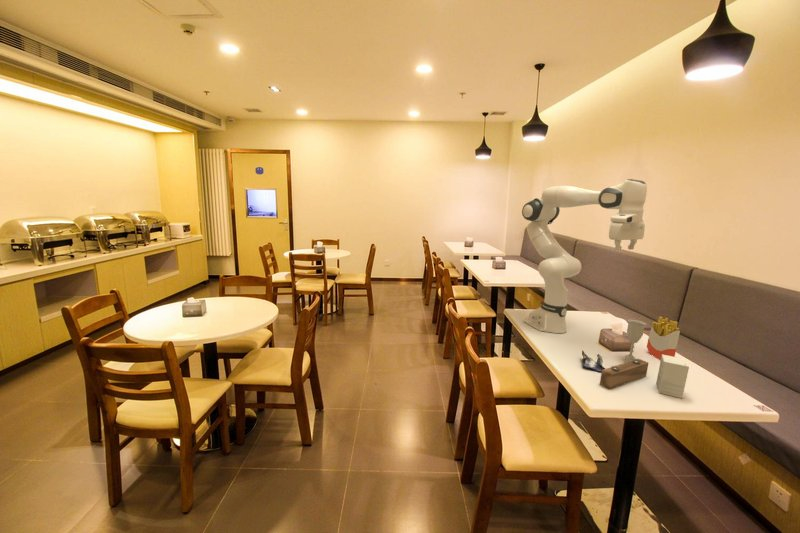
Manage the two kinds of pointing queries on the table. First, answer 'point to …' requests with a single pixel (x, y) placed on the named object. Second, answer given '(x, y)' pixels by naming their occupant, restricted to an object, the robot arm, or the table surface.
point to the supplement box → (672, 376)
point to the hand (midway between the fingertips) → (624, 249)
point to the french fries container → (663, 338)
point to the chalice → (634, 336)
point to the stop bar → (623, 373)
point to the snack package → (598, 364)
